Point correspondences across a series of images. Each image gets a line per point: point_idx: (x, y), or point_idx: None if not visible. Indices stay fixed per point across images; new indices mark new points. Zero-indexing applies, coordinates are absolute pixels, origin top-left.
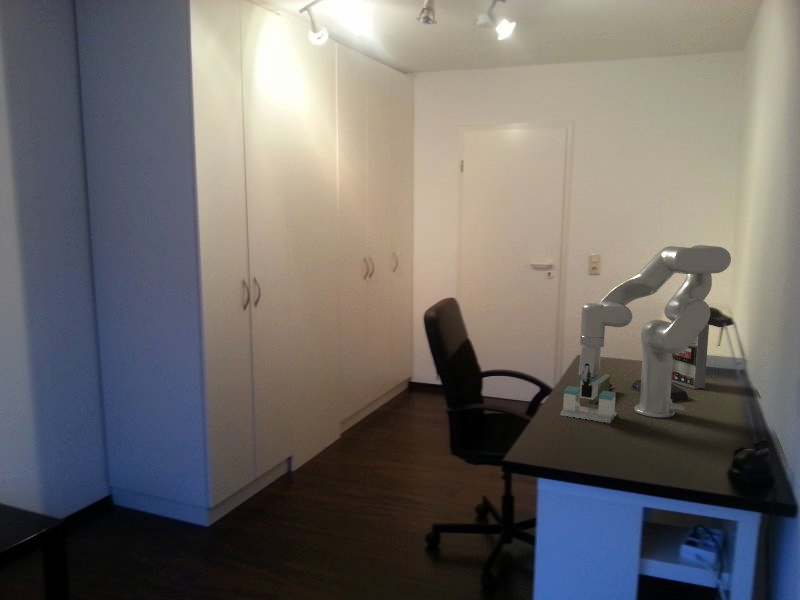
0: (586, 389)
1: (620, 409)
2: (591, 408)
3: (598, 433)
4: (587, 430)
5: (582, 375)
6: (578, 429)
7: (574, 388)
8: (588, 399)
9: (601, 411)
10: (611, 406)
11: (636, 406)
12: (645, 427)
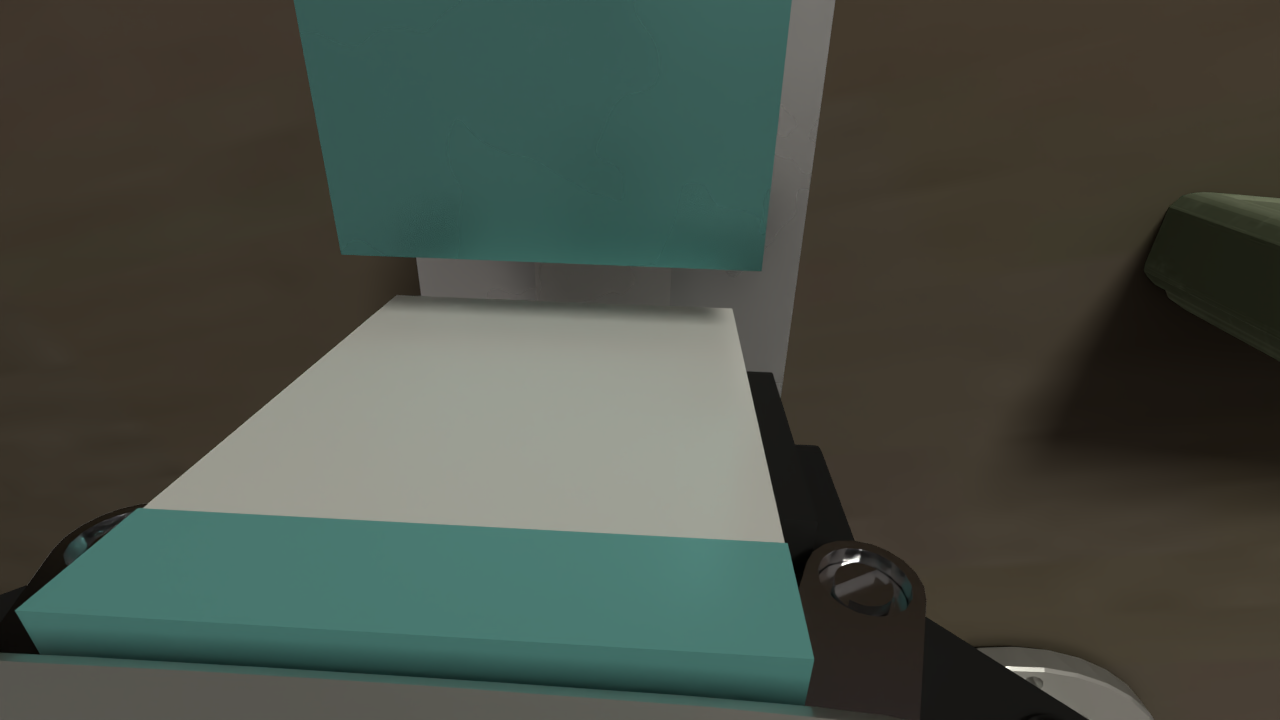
0: None
1: (978, 543)
2: (762, 327)
3: (141, 472)
4: (137, 383)
5: (271, 635)
6: (93, 305)
7: (595, 156)
8: (1216, 210)
9: None
10: None
11: (1038, 674)
12: None
